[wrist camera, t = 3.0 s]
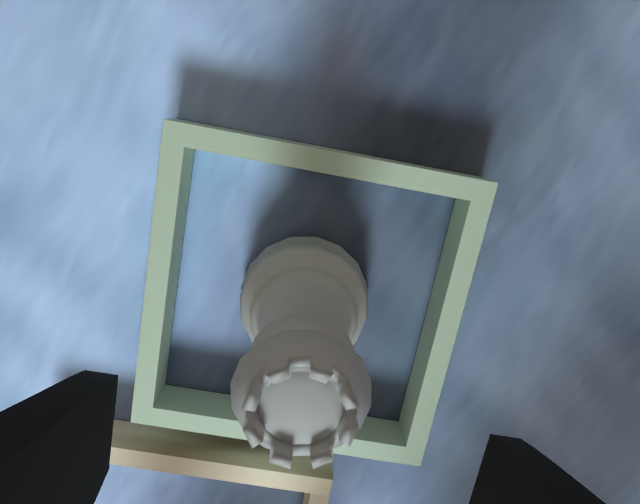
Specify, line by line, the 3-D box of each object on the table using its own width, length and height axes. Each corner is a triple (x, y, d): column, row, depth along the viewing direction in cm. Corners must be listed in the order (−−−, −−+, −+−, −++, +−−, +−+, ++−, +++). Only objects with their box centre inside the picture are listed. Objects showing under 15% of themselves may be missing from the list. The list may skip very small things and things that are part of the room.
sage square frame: (481, 176, 18) (498, 182, 16) (411, 439, 20) (420, 466, 19) (176, 118, 17) (163, 119, 16) (144, 398, 20) (130, 422, 18)
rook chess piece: (228, 246, 18) (168, 344, 10) (353, 220, 18) (386, 300, 10) (258, 360, 19) (223, 524, 12) (376, 336, 19) (421, 486, 11)
